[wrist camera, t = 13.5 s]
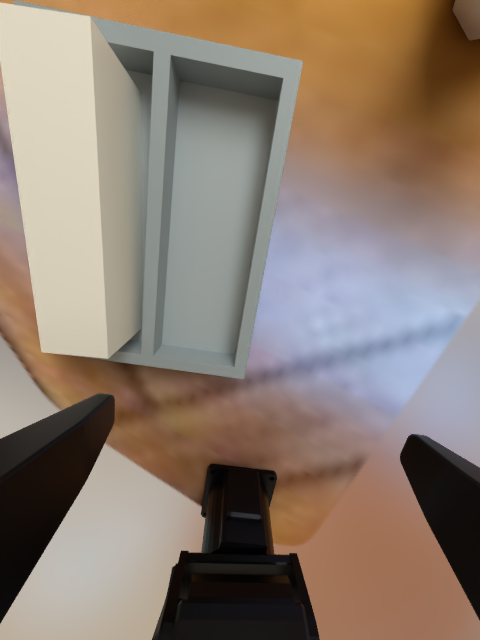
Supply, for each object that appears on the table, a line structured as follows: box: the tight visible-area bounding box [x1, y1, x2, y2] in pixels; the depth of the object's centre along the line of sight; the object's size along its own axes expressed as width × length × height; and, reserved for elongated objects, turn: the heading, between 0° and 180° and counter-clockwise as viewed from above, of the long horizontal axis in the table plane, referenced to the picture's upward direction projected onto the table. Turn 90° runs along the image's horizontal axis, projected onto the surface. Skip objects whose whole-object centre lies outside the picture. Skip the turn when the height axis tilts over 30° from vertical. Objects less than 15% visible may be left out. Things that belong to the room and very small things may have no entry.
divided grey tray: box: [14, 0, 303, 379], centre depth 16 cm, size 18×13×3 cm
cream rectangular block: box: [0, 3, 142, 359], centre depth 14 cm, size 14×4×5 cm, turn 174°
